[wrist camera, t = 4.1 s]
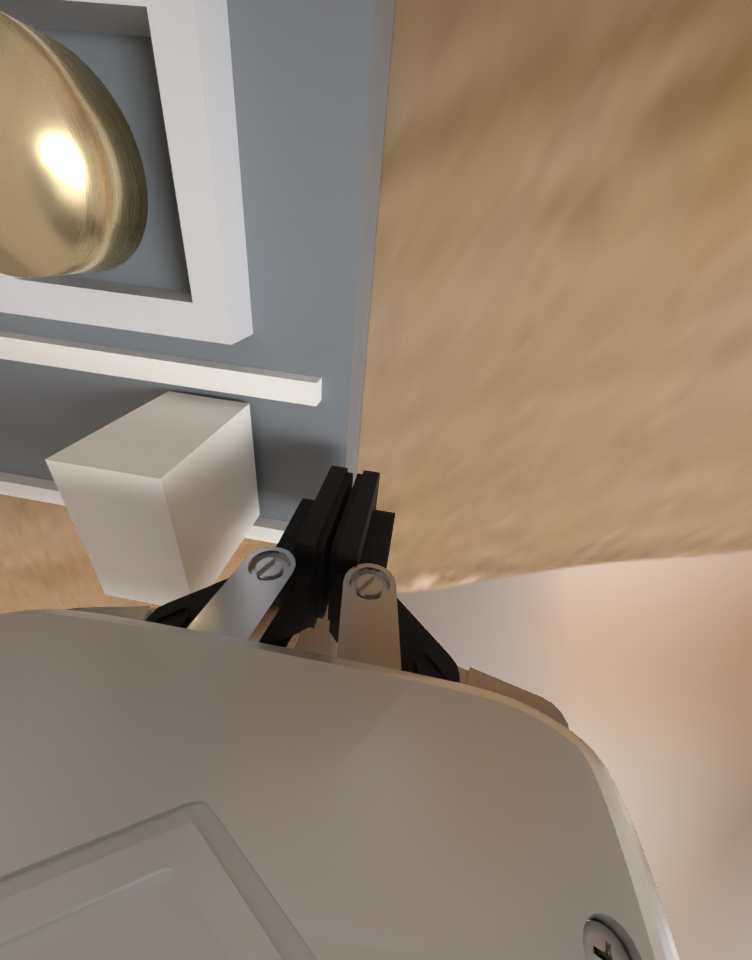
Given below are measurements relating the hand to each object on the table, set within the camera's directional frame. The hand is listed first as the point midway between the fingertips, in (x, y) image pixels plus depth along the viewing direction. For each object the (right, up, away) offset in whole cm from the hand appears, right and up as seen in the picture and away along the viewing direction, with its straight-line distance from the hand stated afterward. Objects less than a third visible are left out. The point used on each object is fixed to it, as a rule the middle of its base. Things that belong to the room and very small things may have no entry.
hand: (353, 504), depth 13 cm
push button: (-7, +8, -4) cm, 11 cm away
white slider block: (-5, +2, +2) cm, 6 cm away
